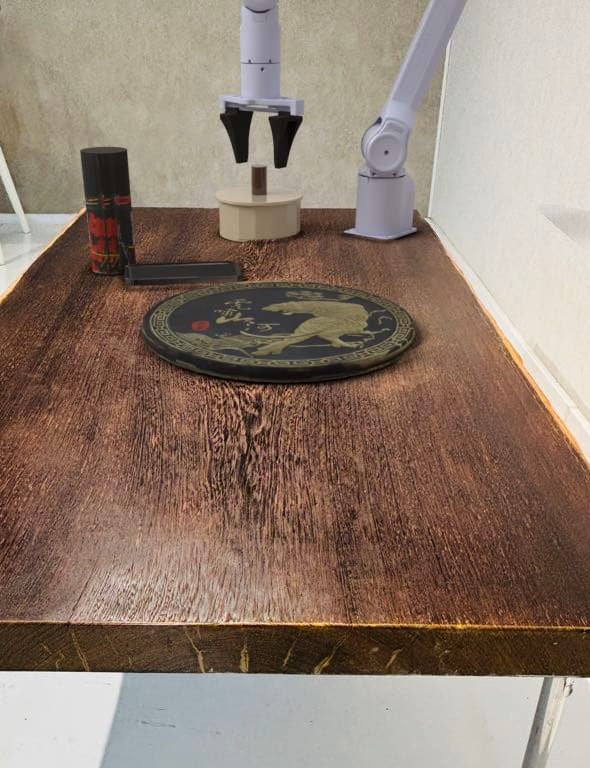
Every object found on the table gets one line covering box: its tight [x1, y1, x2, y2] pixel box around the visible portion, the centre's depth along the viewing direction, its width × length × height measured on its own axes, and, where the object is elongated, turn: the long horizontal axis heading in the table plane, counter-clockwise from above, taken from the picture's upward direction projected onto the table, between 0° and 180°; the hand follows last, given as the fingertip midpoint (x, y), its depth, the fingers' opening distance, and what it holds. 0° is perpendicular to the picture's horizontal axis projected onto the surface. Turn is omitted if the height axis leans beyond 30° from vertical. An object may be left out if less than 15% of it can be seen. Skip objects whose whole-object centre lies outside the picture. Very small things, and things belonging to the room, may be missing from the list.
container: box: [217, 200, 302, 243], centre depth 134 cm, size 13×13×5 cm
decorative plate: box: [141, 280, 416, 384], centre depth 94 cm, size 30×2×30 cm
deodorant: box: [79, 146, 137, 276], centre depth 113 cm, size 6×6×15 cm
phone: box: [124, 260, 243, 287], centre depth 113 cm, size 8×1×15 cm
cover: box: [214, 164, 304, 206], centre depth 131 cm, size 14×14×5 cm
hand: (260, 165), depth 130 cm, fingers open, 7 cm apart
